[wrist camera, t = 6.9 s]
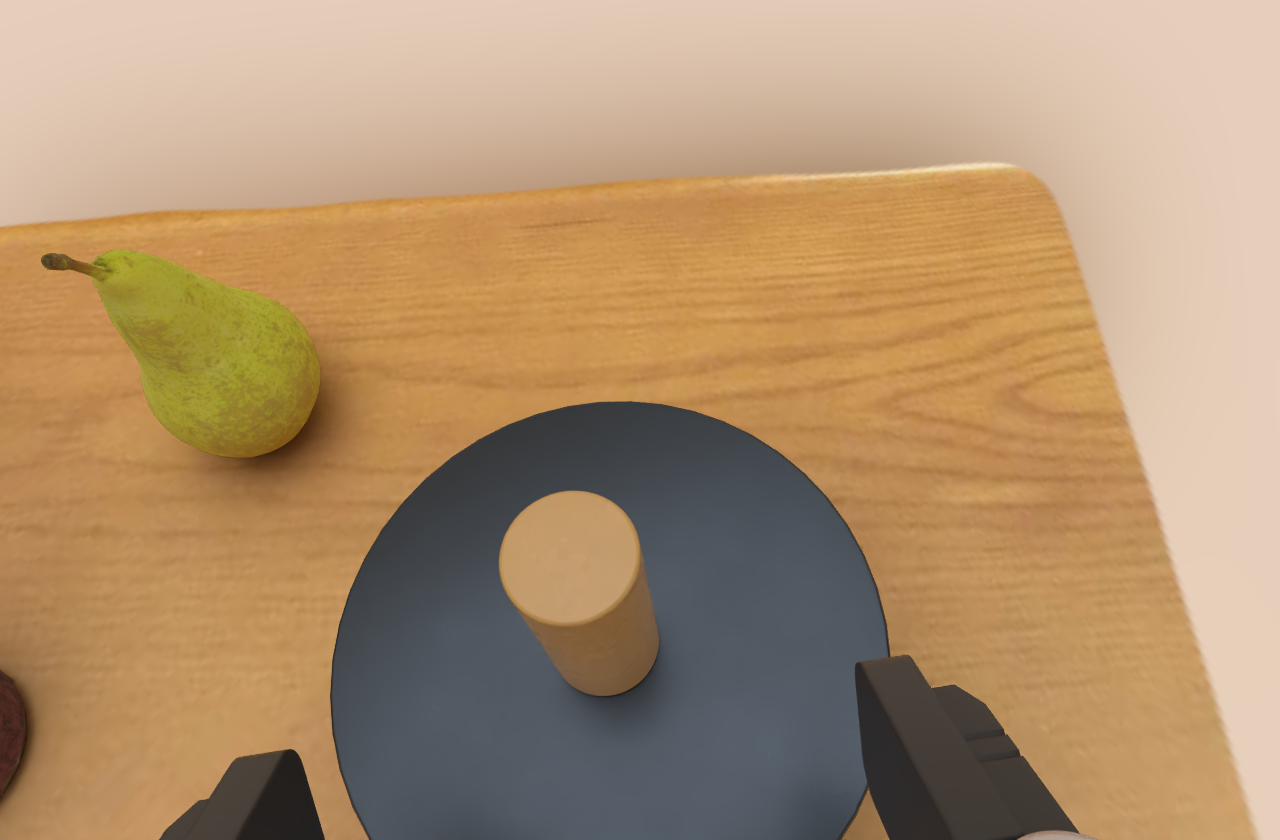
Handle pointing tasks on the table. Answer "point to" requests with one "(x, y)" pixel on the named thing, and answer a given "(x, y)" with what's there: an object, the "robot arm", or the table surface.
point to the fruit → (208, 352)
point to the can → (10, 730)
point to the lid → (608, 641)
